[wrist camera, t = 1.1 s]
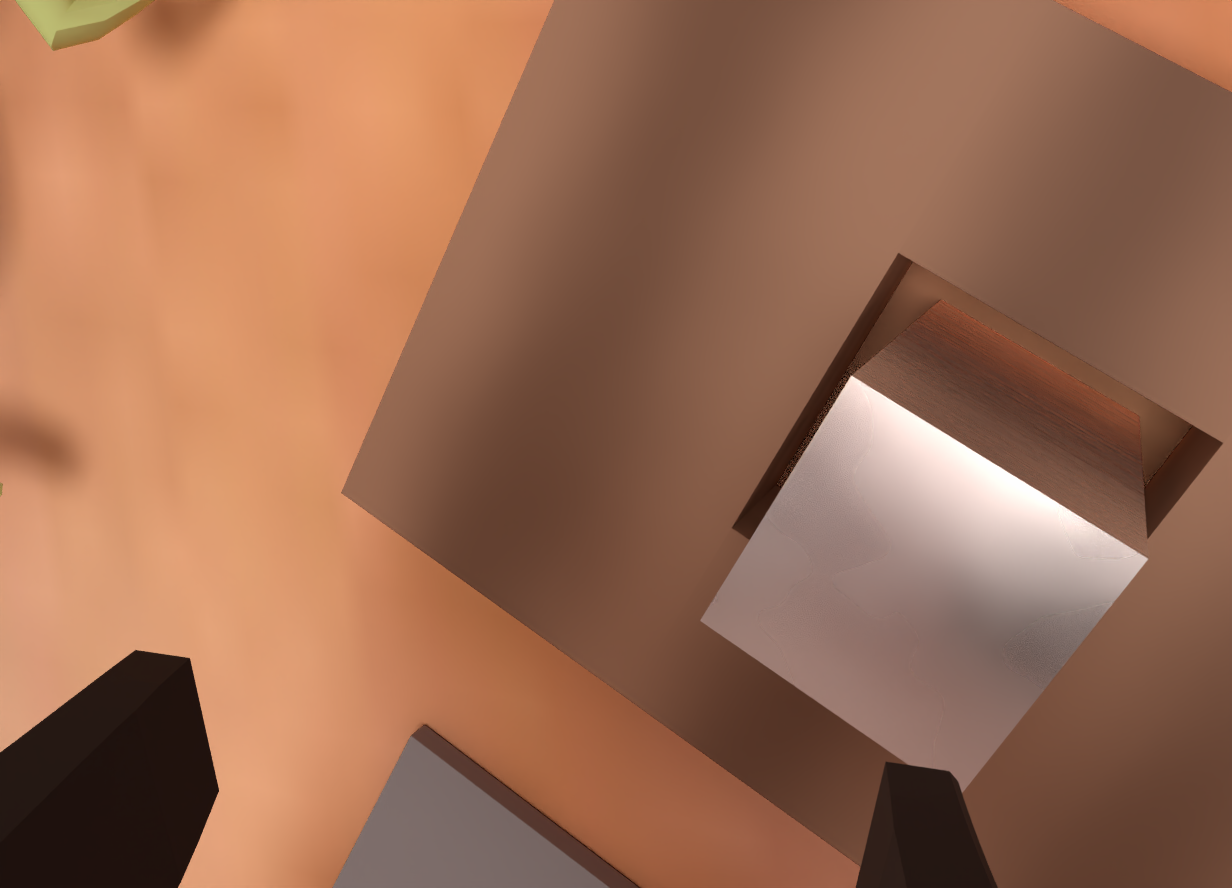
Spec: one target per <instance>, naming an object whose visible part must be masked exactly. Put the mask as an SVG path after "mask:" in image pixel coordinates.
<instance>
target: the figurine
mask: <svg viewBox="0 0 1232 888" xmlns="http://www.w3.org/2000/svg"><path fill="white" fill-rule="evenodd" d="M15 1H16V2H17V4H18V5H19V6H20V8H21V9H22V10H23V12H24V13H25V14H26V16H27V17H28V18H29V20H30V21H31V22H32V23H33V25H34V26H35V27H36V29H37V30H38V31H39V33H40V34H41V35H42V37H43V38H44V39H45V41H46V42H47V43H48V45H49V46H50V47H51V49H52V50H53V51H54V50H58V49H62V48H66V47H70V46H75V45H79V44H83V43H87V42H91V41H95V40H99V39H100V38H102V37H103V36H105V35H106V34H108V33H109V32H111V31H112V30H114V29H115V28H117V27H118V26H120V25H121V24H123V23H124V22H126V21H128V20H129V19H131V18H132V17H134V16H135V15H137V14H138V13H139V12H140V11H142V10H143V9H144V8H145V7H147V6H148V5H149V4H150V3H152V2H153V1H154V0H15ZM2 486H3V484H2V483H0V496H1V495H2Z"/></svg>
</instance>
